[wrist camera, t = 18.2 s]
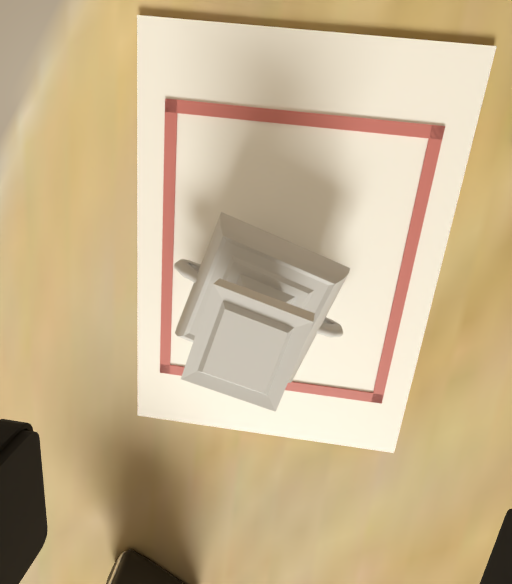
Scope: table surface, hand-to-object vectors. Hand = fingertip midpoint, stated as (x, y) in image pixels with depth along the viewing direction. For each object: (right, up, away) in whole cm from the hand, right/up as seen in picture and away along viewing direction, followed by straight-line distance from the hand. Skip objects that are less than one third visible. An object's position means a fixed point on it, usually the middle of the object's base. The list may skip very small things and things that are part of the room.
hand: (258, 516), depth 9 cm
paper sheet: (+1, +6, +15) cm, 17 cm away
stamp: (0, +5, +16) cm, 16 cm away
